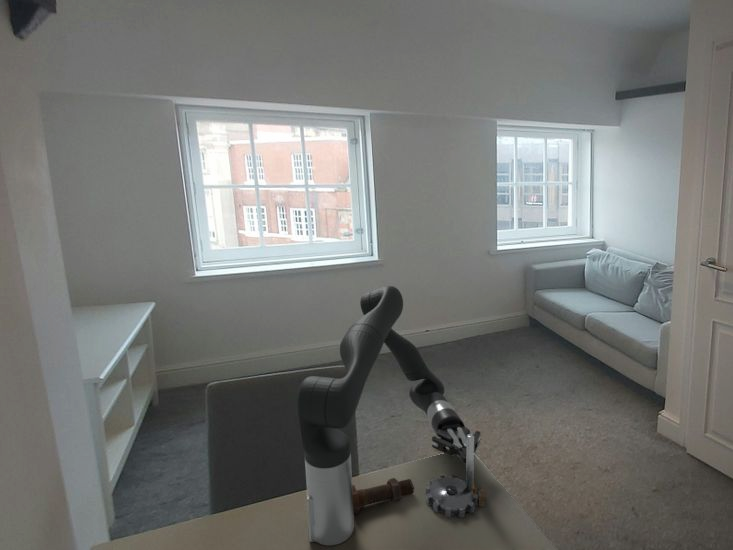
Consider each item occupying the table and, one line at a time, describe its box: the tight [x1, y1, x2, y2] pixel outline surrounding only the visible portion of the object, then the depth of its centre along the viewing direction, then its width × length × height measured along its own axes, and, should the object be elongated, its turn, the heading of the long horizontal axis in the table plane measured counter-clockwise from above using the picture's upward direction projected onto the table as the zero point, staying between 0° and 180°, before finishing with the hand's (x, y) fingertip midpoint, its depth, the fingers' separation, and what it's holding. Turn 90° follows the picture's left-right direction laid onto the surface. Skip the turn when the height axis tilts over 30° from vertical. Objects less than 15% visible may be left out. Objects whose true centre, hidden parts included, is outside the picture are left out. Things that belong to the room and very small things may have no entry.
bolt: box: [352, 477, 415, 516], centre depth 94 cm, size 6×5×15 cm
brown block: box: [478, 489, 486, 508], centre depth 92 cm, size 1×2×2 cm, turn 167°
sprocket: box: [425, 434, 479, 518], centre depth 93 cm, size 11×11×15 cm
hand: (470, 462), depth 94 cm, fingers closed
